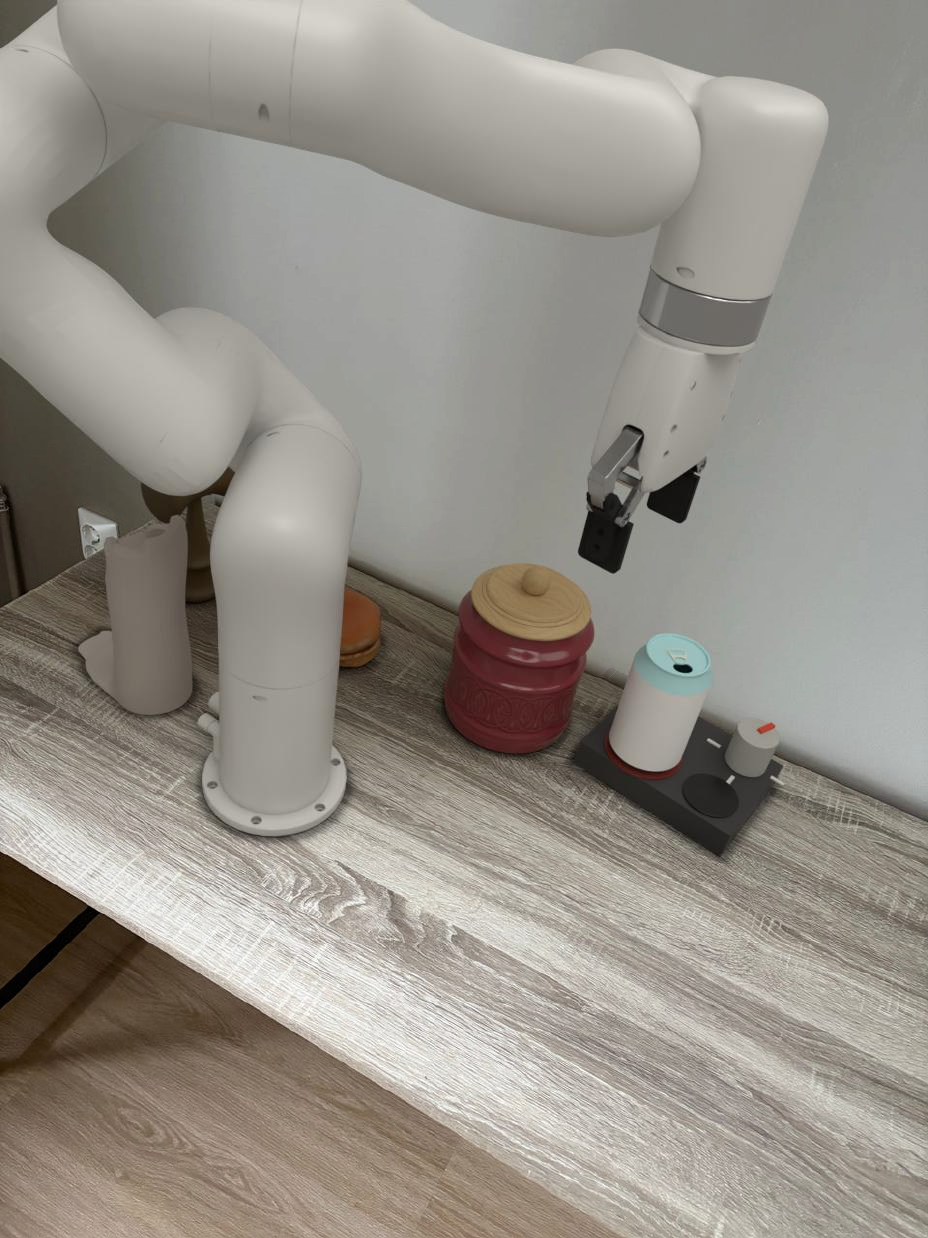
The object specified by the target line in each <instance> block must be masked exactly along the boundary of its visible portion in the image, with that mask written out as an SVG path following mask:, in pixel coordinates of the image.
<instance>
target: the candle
mask: <svg viewBox="0 0 928 1238" xmlns="http://www.w3.org/2000/svg"><path fill="white" fill-rule="evenodd" d="M103 551H104V557H105V573H104V581H105V591H106V601H107V607H108V614H109V621H110V627H111V630H101V631H100V632H99V633H98V634H96V635H93V636H91V637H89V638H87V639H86V640H84V641H83V642H82V643H80V645H78V647H77V651H78V652H79V653H80V654H81V657H83V658H84V660H85V671H86V672H87V674H88V676H89V677H90V679H91V680H92V682H93V683H94V684H95V685H97V686H98V687H99V688H100V689H101V690H102V691H104V692H105V693H106V694H107V695H109V696H110V697H111V698H112V699H114V700H115V701H116V702H117V704H119V705H120V706H121V707H122V708H123V709H124V710H127V711H129V712H131V713H134V714H138V715H145V716H154V715H155V716H156V715H163V714H167V713H169V712H173V711H175V710H177V709H179V708H180V707H182V706H183V705H184V704H186V703H187V702H188V700H189V699H190V698H191V696H192V693H193V663H192V662H193V660H192V659H193V658H192V649H191V648H192V647H191V642H190V635H189V628H188V622H187V614H186V600H185V587H186V573H187V557H188V540H187V531H186V521H185V520H184V518H183V517H182V516H181V515H180V516H179V515H175V516H172V517H171V520H170V523H154V524H153V523H152V524H150V525H149V526H147V528H146V530H144V531H138V532H136V533H134V534H133V533H132V534H131V535H128V536H125V537H122V538H116V537H115V536H113V535H111V536H108V537H105V539H104V542H103Z"/></svg>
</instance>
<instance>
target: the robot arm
mask: <svg viewBox="0 0 928 1238" xmlns="http://www.w3.org/2000/svg"><path fill="white" fill-rule="evenodd" d="M169 122H171V123H175V124H179V125H185V126H190V127H193V128H199V129H204V130H208V131H213V132H217V133H223V134H228V135H232V136H236V137H241V138H246V139H251V140H255V141H261V142H264V143H269V144H274V145H279V146H283V147H287V148H294V149H296V150H301V151H305V152H310V153H315V154H319V155H323V156H329V157H332V158H336V159H341V160H346V161H350V162H352V163H355V164H358V165H360V166H363V167H364V168H366V169H368V170H370V171H372V172H374V173H376V174H378V175H381V176H382V177H385V178H387V179H389V180H393V181H396V182H398V183H401V184H404V185H406V186H409V187H411V188H414V189H416V190H419V191H421V192H425V193H427V194H429V195H432V196H435V197H437V198H440V199H443V200H445V201H447V202H450V203H453V204H455V205H457V206H462V207H465V208H468V209H470V210H474V211H476V212H481V213H484V214H487V215H492V216H495V217H499V218H503V219H507V220H512V221H516V222H521V223H525V224H531V225H536V226H541V227H546V228H551V229H556V230H560V231H565V232H570V233H575V234H579V235H580V234H581V235H584V236H592V237H598V238H599V237H601V238H619V237H621V238H622V237H630V236H636V235H639V234H642V233H646V232H648V231H650V230H652V229H654V228H656V227H658V226H659V229H658V233H657V237H656V241H655V245H654V249H653V253H652V256H651V260H650V265H649V268H648V272H647V276H646V279H645V284H644V287H643V291H642V295H641V298H640V303H639V307H638V312H637V315H636V322H637V323H638V325H639V326H638V327H637V328H636V329H635V330H634V332H633V334H632V337H631V339H630V340H629V344H628V345H627V347H626V350H625V353H624V355H623V357H622V360H621V362H620V365H619V367H618V370H617V373H616V376H615V378H614V381H613V383H612V387H611V390H610V393H609V396H608V399H607V402H606V405H605V408H604V411H603V415H602V418H601V421H600V424H599V428H598V431H597V434H596V438H595V441H594V445H593V448H592V452H591V456H590V465H591V468H590V470H589V473H588V474H587V479H586V480H587V491H586V494H585V495H586V499H585V500H586V507H585V509H586V511H587V514H586V517H585V522H584V525H583V530H582V533H581V537H580V541H579V545H578V548H577V554H578V556H579V557H580V558H581V559H584V560H586V561H587V562H589V563H591V564H593V565H595V566H597V567H598V568H601V569H602V570H604V571H606V572H608V573H610V574H612V575H613V574H616V573H618V572H619V571H620V570H621V569H622V566H623V562H624V560H625V556H626V552H627V548H628V545H629V542H630V538H631V535H632V531H633V529H634V524H635V523H633V522H632V521H630V520H631V517H632V516H633V514H634V512H635V511H636V510H637V508H638V506H639V504H640V502H641V501H642V499H643V497H644V496H645V494H647V493H648V494H649V495H648V497H647V500H646V507H647V509H649V510H651V511H652V512H654V513H656V514H659V515H660V516H663V517H664V518H666V519H669V520H670V521H672V522H674V523H677V524H683V523H684V522H685V521H686V520H687V519H688V516H689V513H690V510H691V507H692V504H693V501H694V498H695V495H696V491H697V489H698V486H699V483H700V480H701V476H700V474H702V472H703V471H704V470H705V468H706V466H707V461H708V457H707V456H708V455H709V454H710V452H711V451H712V449H713V447H714V446H715V443H716V441H717V438H718V435H719V434H720V431H721V428H722V425H723V423H724V419H725V417H726V414H727V410H728V407H729V404H730V401H731V398H732V395H733V391H734V387H735V384H736V380H737V378H738V373H739V371H740V370H739V369H740V366H741V362H742V357H743V354H746V353H748V352H750V351H752V350H753V349H754V348H755V346H756V343H757V341H758V337H759V334H760V331H761V328H762V325H763V322H764V319H765V317H766V314H767V310H768V308H769V305H770V302H771V299H772V296H773V294H774V291H775V288H776V284H777V281H778V279H779V276H780V273H781V270H782V268H783V265H784V261H785V259H786V255H787V252H788V250H789V247H790V244H791V241H792V239H793V236H794V232H795V229H796V226H797V223H798V221H799V218H800V215H801V212H802V209H803V206H804V203H805V200H806V197H807V194H808V191H809V188H810V185H811V183H812V179H813V177H814V174H815V170H816V168H817V166H818V163H819V159H820V156H821V153H822V150H823V147H824V144H825V140H826V138H827V134H828V131H829V130H828V129H829V123H830V122H829V113H828V109H827V107H826V106H825V103H824V102H823V101H822V100H821V99H820V98H818V97H817V96H815V95H814V94H813V93H811V92H808V91H806V90H804V89H801V88H798V87H795V86H793V85H790V84H789V85H788V84H785V83H780V82H776V81H772V80H768V79H762V78H757V77H748V76H736V75H725V76H721V77H720V76H714V75H709V74H706V73H703V72H700V71H697V70H692V69H689V68H686V67H683V66H681V65H678V64H674V63H671V62H669V61H665V60H662V59H659V58H657V57H654V56H651V55H649V54H645V53H643V52H639V51H636V50H631V49H626V48H604V49H600V50H596V51H593V52H590V53H587V54H586V55H584V56H582V57H580V58H578V59H577V60H576V61H575V62H573V63H572V64H571V63H566V62H563V61H559V60H554V59H549V58H545V57H540V56H536V55H533V54H528V53H525V52H521V51H517V50H514V49H511V48H507V47H505V46H501V45H498V44H495V43H491V42H488V41H486V40H483V39H480V38H477V37H475V36H472V35H469V34H467V33H464V32H462V31H459V30H457V29H455V28H452V27H450V26H448V25H446V24H445V23H443V22H441V21H439V20H437V19H436V18H433V16H431V15H429V14H427V13H426V12H425V11H423V10H422V9H421V8H420V7H417V6H416V5H415V4H414V3H412V2H410V1H408V0H56V5H54V6H53V7H52V8H51V9H50V10H48V11H47V12H46V13H45V14H42V16H41V17H40V18H38V19H37V20H36V21H35V22H34V23H32V24H31V25H30V26H29V27H28V28H26V29H25V30H24V31H22V32H21V33H20V34H19V35H18V36H16V37H15V38H13V40H11V41H10V42H9V43H7V44H5V45H4V46H3V47H0V359H1V360H3V361H4V362H5V363H6V364H7V365H9V366H10V367H11V368H12V369H13V370H14V371H16V373H18V374H19V375H20V376H21V377H22V378H23V379H24V380H26V381H27V382H28V383H29V385H30V386H32V387H33V388H34V389H35V390H36V391H37V392H38V393H39V394H40V395H41V396H42V397H43V398H44V399H46V401H48V402H49V403H50V404H51V405H52V406H53V407H55V409H57V410H58V411H59V412H60V413H61V414H62V415H63V416H65V417H66V418H67V419H68V420H69V421H70V422H72V424H74V425H75V426H76V427H77V428H78V429H79V430H80V431H81V432H82V433H83V434H84V435H86V436H87V437H88V438H89V439H90V440H91V441H93V442H94V443H95V444H96V445H97V446H98V447H99V448H101V449H102V451H104V452H105V453H106V454H107V455H108V456H110V458H111V459H113V460H114V461H115V462H116V463H117V464H118V465H120V466H121V467H122V468H123V469H124V470H125V471H126V472H128V473H129V474H130V475H132V476H133V478H135V479H137V480H138V481H140V483H141V482H142V483H144V484H145V485H147V486H148V487H150V488H152V489H154V490H156V491H158V492H161V493H164V494H167V495H174V496H187V495H192V494H196V493H199V492H201V491H203V490H205V489H206V488H208V487H209V486H211V485H212V484H213V483H214V482H215V481H217V480H218V479H219V478H220V476H221V475H222V474H223V473H224V471H225V470H226V469H227V467H229V468H230V469H232V470H233V471H234V472H235V475H234V476H233V478H232V480H231V483H230V485H229V487H228V490H227V492H226V495H225V497H223V500H222V503H221V505H220V507H219V510H218V513H217V516H216V519H215V522H214V527H213V530H212V535H211V540H210V545H211V547H210V565H211V573H212V579H213V584H214V590H215V596H214V597H215V601H216V602H215V603H216V615H217V617H216V618H217V653H218V691H216V692H214V693H213V694H212V695H211V696H210V698H209V699H208V701H207V706H208V709H210V710H211V711H212V712H214V713H215V714H217V715H218V716H219V718H218V719H219V721H218V719H216V718H215V717H214V716H212V715H211V714H209V713H207V712H205V713H203V714H201V715H200V717H199V718H198V719H197V722H196V724H197V726H198V727H199V728H200V729H202V730H203V731H204V732H206V733H207V734H209V735H211V736H212V750H211V752H210V753H208V756H207V758H206V760H205V762H204V763H203V768H202V773H201V788H202V793H203V797H204V800H205V802H206V804H207V806H208V807H209V809H210V810H211V811H212V812H213V814H214V815H215V816H216V817H217V818H218V819H220V820H221V821H222V822H223V823H224V824H226V825H228V826H230V827H232V828H233V829H235V830H238V831H241V832H244V833H246V834H249V835H256V836H261V837H282V836H290V835H295V834H299V833H302V832H305V831H308V830H311V829H312V828H314V827H316V826H319V825H320V824H321V823H323V822H324V821H326V820H327V819H328V818H329V817H330V816H331V815H332V814H333V813H334V812H335V811H336V810H337V809H338V807H339V806H340V804H341V802H342V800H343V798H344V796H345V792H346V787H347V780H348V778H347V776H348V775H347V767H346V764H345V760H344V758H343V757H342V755H341V753H340V752H339V750H338V749H337V747H336V746H334V745H333V740H334V739H333V738H334V729H335V718H336V705H337V703H336V702H337V693H338V682H339V672H340V671H339V670H340V667H339V661H340V644H341V633H342V619H343V602H344V589H345V586H346V585H345V584H346V578H347V571H348V563H349V556H350V549H351V544H352V538H353V532H354V528H355V523H356V517H357V509H358V504H359V500H360V495H361V489H362V480H363V468H362V461H361V457H360V454H359V451H358V449H357V447H356V445H355V443H354V441H353V439H352V438H351V436H350V435H349V433H348V432H347V431H346V430H345V429H344V427H343V426H342V425H341V424H340V423H339V421H338V420H337V419H336V418H335V417H334V416H333V414H332V413H331V412H330V411H329V410H328V409H327V408H326V407H325V406H324V405H323V404H322V403H321V402H320V400H319V399H317V398H316V397H315V396H314V395H313V393H312V392H311V391H310V389H309V390H308V388H307V387H306V386H305V385H304V384H303V383H302V382H301V381H300V380H299V379H298V378H297V376H295V374H294V373H293V372H292V371H291V370H290V369H289V368H288V367H287V366H286V364H284V363H283V362H282V361H281V359H280V358H278V356H276V355H275V353H274V352H272V350H271V349H270V348H269V347H268V346H267V345H266V344H265V343H264V342H263V341H262V340H261V339H260V338H259V337H258V336H257V335H256V334H254V332H252V330H250V329H248V328H247V327H246V326H244V325H243V324H242V323H240V322H238V321H237V320H235V318H232V317H230V316H229V315H227V314H224V313H221V312H219V311H216V310H213V309H210V308H205V307H199V306H186V307H178V308H175V309H171V310H168V311H166V312H163V313H162V314H160V315H159V316H157V317H155V318H154V317H153V316H151V314H149V313H148V311H146V310H145V309H144V308H143V307H142V306H141V305H140V304H139V303H138V302H137V301H136V300H135V299H134V298H133V297H132V296H131V295H130V294H129V293H128V292H127V290H126V289H125V288H124V287H123V286H122V285H121V284H120V283H119V281H117V280H116V279H115V278H113V276H111V274H109V273H108V272H106V270H104V269H103V268H101V267H100V266H99V265H97V264H96V263H94V262H93V261H91V260H89V259H88V258H86V257H84V256H83V255H81V254H79V253H78V252H76V251H74V250H72V249H70V248H69V247H68V246H65V245H64V244H62V243H60V242H59V241H58V240H57V239H55V238H54V237H53V236H52V235H51V233H50V232H49V230H48V227H47V225H48V219H49V216H50V215H51V213H52V212H53V211H55V210H56V209H58V208H59V207H60V206H62V205H64V204H65V203H66V202H67V201H69V199H71V198H72V197H73V196H74V195H76V194H77V193H78V192H80V191H81V190H82V189H83V188H85V187H86V186H87V185H89V184H90V183H91V182H93V180H95V179H96V178H97V177H99V176H100V175H101V174H102V173H104V172H105V171H106V170H107V169H108V168H110V167H111V166H112V165H114V164H115V163H116V162H117V161H118V160H120V159H121V158H123V157H124V156H125V155H126V154H128V153H130V151H132V150H133V149H134V148H135V147H137V146H138V145H140V144H141V143H142V142H143V141H145V140H146V139H148V138H149V137H150V136H152V135H153V134H154V133H156V132H157V131H159V130H160V129H161V128H162V127H164V126H165V125H166V124H167V123H169ZM627 467H629V468H631V469H633V470H635V471H637V472H638V475H639V476H640V479H639V478H637V477H636V476H633V475H631V474H629V473H627V472H625V470H626V469H627ZM616 483H618V484H619V485H622V486H624V487H626V488H627V489H628V488H629V489H630V491H629V493H628V495H627V496H626V498H625V499H624V502H623V503H622V501H621V500H620V497H619V496H618V495H617V494H615V493H614V491H615V490H616Z"/></svg>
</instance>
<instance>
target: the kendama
mask: <svg viewBox="0 0 928 1238" xmlns="http://www.w3.org/2000/svg"><path fill="white" fill-rule="evenodd" d="M234 475H235V472H234V471H233V470H232V469H230V468H229V467H227V469H226V470H225V471H224V473H223V474H222V475H221V476H220V478H219V479H218V480H217V481H215V482H214V483H213V484H212V485H211V486H209V487H208V488H206V489H205V490H203V491H201V492H199V493H196V494H192V495H187V496H174V495H167V494H164V493H161V492H158V491H156V490H154V489H152V488H150V487H148V486H147V485H145V484H144V483H142V482H141V481H140V490H141V491H140V492H141V496H142V499H143V501H144V504H145V506H146V508H147V510H149V512H150V514H151V515H153V516H154V517H155V518H156V519H157V520H158V521H159V522H161V523H162V524H170V520H171V517H172V516H175V515H179V516H181V515H182V514H183V513H184V511H185V510H186V516H185V517H186V518H185V525H186V531H187V540H188V557H187V573H186V587H185V601H188V602H192V603H198V602H205V601H208V600H211V599H213V598H214V597H216V596H215V590H214V584H213V579H212V573H211V565H210V547H211V542H210V539H209V536H208V531H207V527H206V521H205V516H204V508H203V500H202V498H204V497H207V496H211V495H217V496H220V497H223V498H224V497H225V495H226V492H227V490H228V487H229V485H230V483H231V480H232V478H233V476H234Z"/></svg>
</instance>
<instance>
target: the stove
mask: <svg viewBox="0 0 928 1238" xmlns="http://www.w3.org/2000/svg"><path fill="white" fill-rule="evenodd" d="M617 708H618V705H617V706H616V707H615V708H613V710H612V711H610V713H608V714H607V715H606V716H605V717H604V718H603V719H602V720H601V721H600V722H599V723H598V724H597V725H595V727H594V728H593V729H591V731H589V732H588V733H587V734H586V735H585V736H584V737H583V738H582V739H581V740H580V741H579V744H578V747H577V750H576V753H575V757H574V760H573V764H575V765H576V766H578V767H579V768H581V769H582V770H584V771H585V772H587V773H589V774H590V775H591V776H594V777H595V778H596V779H598V780H599V781H601V782H603V783H604V784H606V785H608V786H609V787H610V788H612V789H613V790H615V791H616V792H618V793H620V794H621V795H623V796H624V797H626V798H627V799H629V800H631V801H632V802H634V803H635V804H637V805H639V807H641V808H643V809H645V810H646V811H648V812H650V813H651V814H652V815H654V816H656V818H658V819H660V820H662V822H663V821H664V823H666V824H668V826H669V825H670V826H671V827H673V828H674V829H675V830H677V831H679V832H681V833H682V834H684V835H685V836H686V837H688V838H690V839H691V840H693V842H695V843H697V844H699V845H700V846H702V847H704V848H705V849H707V850H709V851H710V852H711V853H712V854H715V855H716V856H717V857H719V858H720V857H721V856H723V854H724V852H725V851H726V850H727V849H728V848H729V846H730V845H731V843H732V842H733V841H734V839H735V838H736V837H737V835H738V834H739V833H740V832H741V830H742V829H743V828H744V826H745V825H746V823H747V822H748V821H749V819H750V818H751V817H752V816H753V815H754V813H755V811H757V809H758V807H760V805H761V803H762V802H763V801H764V800H765V798H766V797H767V795H768V794H769V793H770V792H771V791H772V789H773V788H774V786H775V784H776V783H777V784H778V785H780V786H782V787H785V784H786V783H785V782H784V781H782V780H780V779H778V778H779V776H780V774H781V772H782V769H783V768H784V765H783V764H781V763H780V762H778V761H776V760H775V759H773V758H771V760H770V762H769V764H768V766H767V768H766V770H765V772H764V773H763V774H762V775H761V776H758V777H746V776H743V775H740V774H738V773H736V772H735V771H733V770H732V769H731V768H730V767H729V766H728V764H727V763H726V761H725V752H726V750H727V748H728V746H729V743H730V741H731V739H732V737H733V735H732V734H729V732H727V731H725V730H723V729H721V728H719V727H718V726H716V725H714V724H713V723H711V722H709V721H707V720H706V719H704V718H702V717H701V716H699V715H698V718H697V720H696V723H695V725H694V728H693V730H692V733H691V735H690V738H689V740H688V743H687V745H686V748H685V750H684V753H683V762H682V765H681V767H680V769H679V770H678V772H677V773H675V774H674V775H673V776H671V777H669V778H666V779H661V780H647V779H642V778H638V777H635V776H632V775H630V774H628V773H626V772H624V771H623V770H621V769H620V768H618V767H617V766H616V765H615V764H614V763H613V762H612V761H611V760H610V758H609V757H608V755H607V753H606V751H605V747H604V738H605V735H606V733H607V731H608V730H609V729H610V728H611V727H612V724H613V721H614V718H615V715H616V711H617ZM699 773H705V774H711V775H714V776H717V777H719V778H721V779H723V780H724V781H726V782H727V783H729V784H730V785H731V786H732V787H733V789H734V790H735V791H736V793H737V795H738V798H739V806H738V808H737V810H736V812H735V813H734V814H732V815H731V816H728V817H725V818H714V817H709V816H706V815H704V814H701V813H700V812H698V811H696V810H695V809H694V808H692V807H691V806H690V805H689V804H688V802H687V801H686V799H685V797H684V795H683V790H682V789H683V784H684V782H685V780H686V779H687V778H688V777H690V776H691V775H694V774H699ZM721 858H722V857H721Z"/></svg>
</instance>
